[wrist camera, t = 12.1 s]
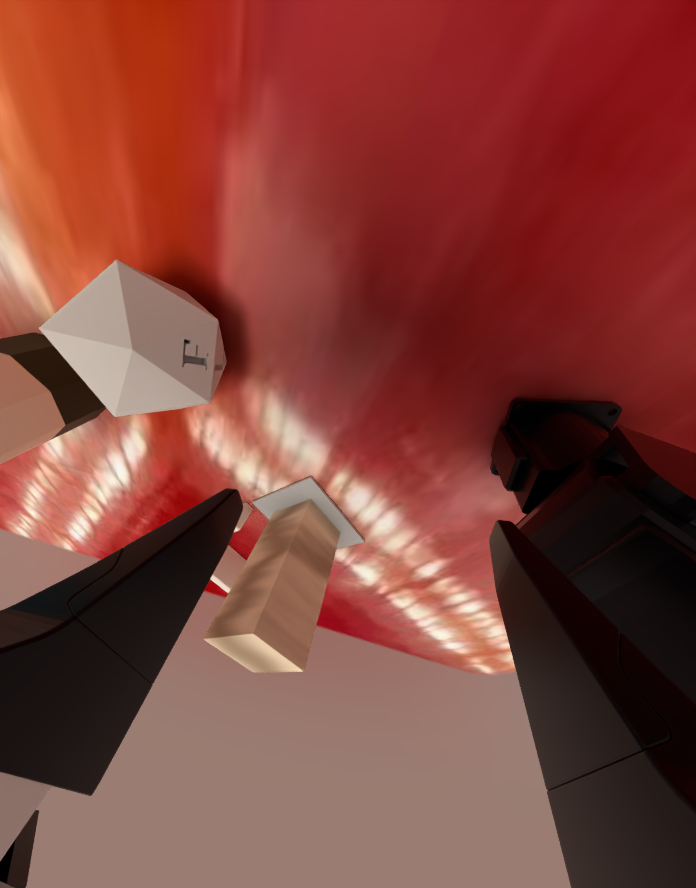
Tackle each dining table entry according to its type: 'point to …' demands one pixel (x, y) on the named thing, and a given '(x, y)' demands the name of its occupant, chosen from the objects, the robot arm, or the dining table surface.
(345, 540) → the grey pad
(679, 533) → the robot arm
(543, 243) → the dining table surface
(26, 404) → the wine bottle
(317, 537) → the birch block
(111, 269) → the die
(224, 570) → the white angular bracket
